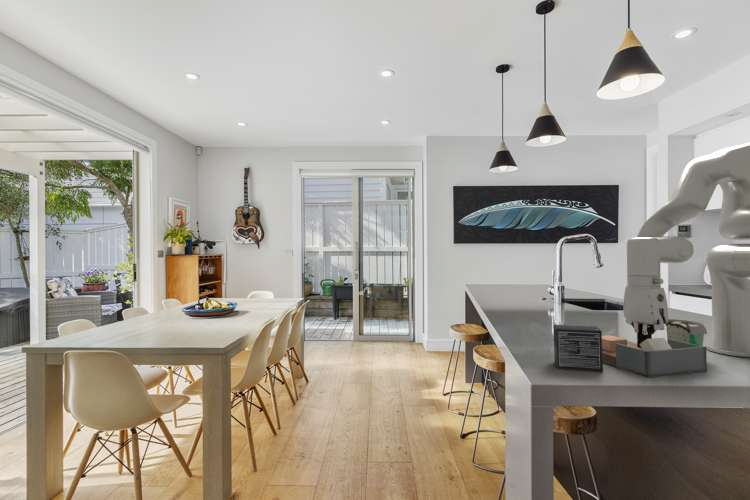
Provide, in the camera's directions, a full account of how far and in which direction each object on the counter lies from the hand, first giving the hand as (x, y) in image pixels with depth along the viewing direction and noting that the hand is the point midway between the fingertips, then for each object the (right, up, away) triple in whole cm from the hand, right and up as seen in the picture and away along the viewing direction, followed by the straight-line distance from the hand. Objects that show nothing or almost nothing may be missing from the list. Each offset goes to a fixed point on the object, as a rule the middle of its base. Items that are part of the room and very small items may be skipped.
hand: (644, 347), depth 103 cm
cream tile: (0, 0, -4) cm, 4 cm away
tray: (-2, -3, -8) cm, 9 cm away
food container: (+12, -3, 0) cm, 13 cm away
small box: (-22, -4, -6) cm, 23 cm away
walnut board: (-5, -3, +2) cm, 6 cm away
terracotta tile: (-8, -1, +2) cm, 8 cm away
